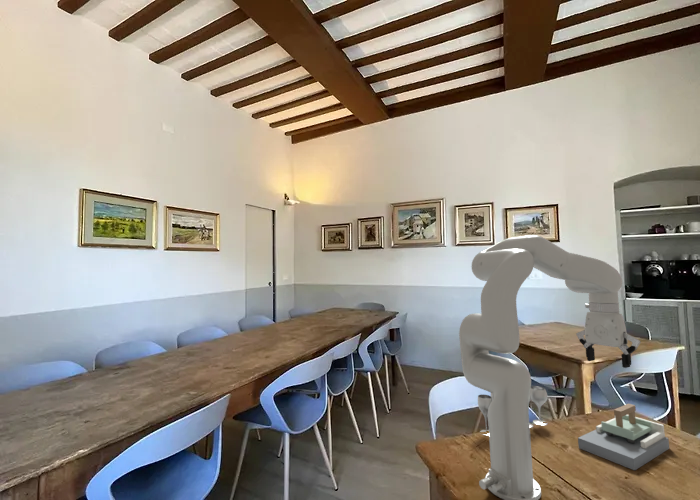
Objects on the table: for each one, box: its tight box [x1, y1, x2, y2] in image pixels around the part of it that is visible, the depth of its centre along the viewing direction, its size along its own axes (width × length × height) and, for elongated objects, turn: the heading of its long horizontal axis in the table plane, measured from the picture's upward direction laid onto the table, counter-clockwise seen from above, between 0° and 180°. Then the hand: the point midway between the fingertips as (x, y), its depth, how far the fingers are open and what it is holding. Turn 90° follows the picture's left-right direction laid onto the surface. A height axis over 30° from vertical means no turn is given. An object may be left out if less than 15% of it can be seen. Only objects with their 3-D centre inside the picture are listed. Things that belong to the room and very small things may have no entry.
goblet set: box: [477, 385, 548, 437], centre depth 118 cm, size 28×6×13 cm, turn 107°
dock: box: [577, 414, 670, 471], centre depth 102 cm, size 22×14×6 cm, turn 119°
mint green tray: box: [600, 403, 652, 444], centre depth 103 cm, size 12×8×8 cm, turn 119°
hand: (608, 363), depth 106 cm, fingers open, 9 cm apart
